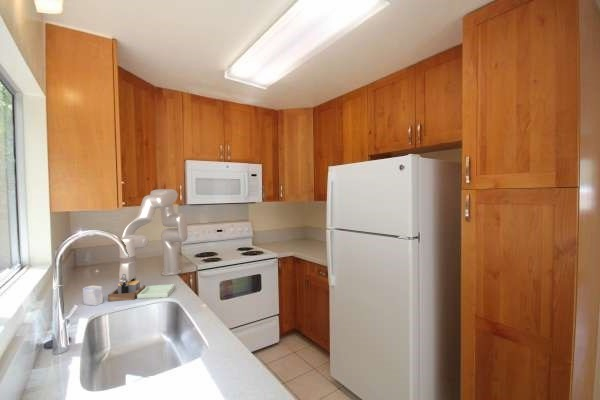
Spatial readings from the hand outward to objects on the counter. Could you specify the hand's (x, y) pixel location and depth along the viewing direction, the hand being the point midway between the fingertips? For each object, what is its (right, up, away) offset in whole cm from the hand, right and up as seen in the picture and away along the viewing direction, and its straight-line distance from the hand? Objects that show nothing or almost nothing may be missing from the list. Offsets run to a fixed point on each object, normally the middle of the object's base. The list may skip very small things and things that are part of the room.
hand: (129, 290), depth 151 cm
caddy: (0, -3, 0) cm, 3 cm away
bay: (0, -2, -2) cm, 3 cm away
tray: (+15, -2, +1) cm, 15 cm away
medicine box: (-11, -3, -11) cm, 16 cm away
